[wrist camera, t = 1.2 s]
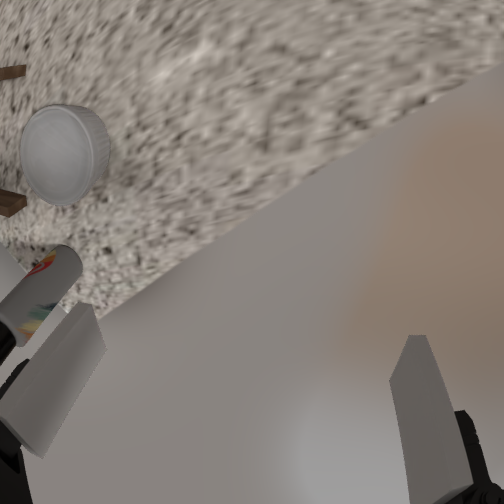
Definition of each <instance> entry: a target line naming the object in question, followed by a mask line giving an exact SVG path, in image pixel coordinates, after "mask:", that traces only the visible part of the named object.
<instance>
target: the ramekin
mask: <svg viewBox="0 0 504 504" xmlns="http://www.w3.org/2000/svg"><path fill="white" fill-rule="evenodd" d="M109 157H110V140H109V135H108V133H107V129H106V127H105V125H104V123H103V122H102V120H101V119H100V118H99V116H97V115H96V114H95V113H94V112H92V111H91V110H89V109H87V108H84V107H81V106H67V105H62V104H55V105H50V106H47V107H44V108H42V109H40V110H39V111H37V112H36V113H35V114H34V115H33V116H32V117H31V118H30V120H29V121H28V123H27V124H26V126H25V129H24V131H23V134H22V138H21V144H20V158H21V165H22V169H23V172H24V175H25V177H26V180H27V182H28V184H29V185H30V187H31V188H32V189H33V191H34V192H35V193H36V194H37V195H38V196H39V197H40V198H41V199H43V200H44V201H46V202H48V203H49V204H52V205H55V206H67V205H71V204H73V203H75V202H77V201H78V200H80V199H81V198H83V197H84V196H85V195H86V194H87V193H88V191H89V190H90V188H91V187H92V185H93V184H94V183H95V182H96V181H97V180H98V179H99V178H100V177H101V176H102V174H103V173H104V171H105V169H106V167H107V164H108V161H109Z"/></svg>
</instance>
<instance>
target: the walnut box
mask: <svg viewBox="0 0 504 504" xmlns="http://www.w3.org/2000/svg"><path fill="white" fill-rule="evenodd" d="M25 72H26V65H18V66H10V67H3V68H0V80H5V79H10V78H15V77H21V76H25ZM25 206H27V201H26V196H25V195H21V194H17V193H13V192H9V191H5V190H2V189H0V215H3V216H6V217H9V218H10V217H11V216H12V215H14V214H15V213H17V212H18V211H19V210H21V209H22V208H24V207H25Z"/></svg>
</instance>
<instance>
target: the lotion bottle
mask: <svg viewBox="0 0 504 504" xmlns="http://www.w3.org/2000/svg"><path fill="white" fill-rule="evenodd" d="M82 270H83V267H82V262H81V260H80V258H79V256H78V255H77V254H76V252H75V251H73V250H72V249H71V248H69V247H67V246H63V245H60V246H58V247H56V248H55V249H53V250H52V251H51V252H50V253H49V254H48V255H47V256H46V257H45V258H44V259H43V260H42V261H40V262H39V263H38V264H37V265H36V266H35V267H34V268H33V269H32V270H31V271H30V272H29V273H28V274H27V275H26V276H25V277H24V278H23V279H22V280H21V282H20V283H18V285H17V286H16V287H15V288H14V289H13V290H12V291H11V292H10V293H9V294H8V295H7V296H6V297H5V298H4V299H3V300H2V302H1V303H0V366H1V365H2V363H3V362H4V361H5V359H6V358H7V357H8V355H9V354H10V353H11V351H12V350H13V349H14V347H15V346H17V347H23V346H25V344H26V343H27V342H28V340H29V339H30V338H31V337H32V335H33V334H34V333H35V331H36V330H37V329H38V328H39V326H40V325H41V323H42V322H43V321H44V320H45V318H46V317H47V316H48V315H49V313H50V312H51V311H52V310H53V308H54V307H55V306H56V305H57V303H58V302H59V301H60V300H61V299H62V297H63V296H64V295H65V294H66V293H67V291H68V290H69V289H70V288H71V287H72V285H73V284H74V283H75V282H76V281H77V279H78V278H79V277H80V276H81V274H82Z"/></svg>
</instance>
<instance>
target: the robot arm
mask: <svg viewBox="0 0 504 504" xmlns="http://www.w3.org/2000/svg"><path fill="white" fill-rule="evenodd" d="M106 351H107V348H106V346H105V343H104V340H103V337H102V334H101V332H100V328H99V326H98V322H97V319H96V316H95V313H94V310H93V307H92V304H88V303H82V302H78V303H77V304H76V305H75V306H74V307H73V309H72V310H71V311H70V312H69V313H68V314H67V316H66V317H65V318H64V319H63V320H62V322H61V323H60V324H59V325H58V326H57V327H56V329H55V330H54V331H53V332H52V334H51V335H50V336H49V337H48V338H47V339H46V341H45V342H44V343H43V344H42V346H41V347H40V348H39V349H38V351H37V352H36V353H35V355H34V356H33V357H32V358H31V359H30V360H29V359H26V360H24V361H23V362H21V363H20V364H19V365H17V367H16V368H15V369H14V370H13V372H12V373H11V376H9V377H8V379H7V380H6V383H4V384H3V385H2V386H1V388H0V504H33V502H32V498H31V494H30V490H29V485H28V481H27V476H26V471H25V466H24V459H23V454H22V451H21V449H20V447H21V445H23V446H24V447H25V448H26V449H27V450H28V451H29V452H30V453H32V454H34V455H36V456H38V457H40V458H41V459H43V458H44V456H45V454H46V452H47V450H48V448H49V447H50V445H51V443H52V441H53V439H54V438H55V436H56V434H57V432H58V430H59V429H60V427H61V425H62V423H63V422H64V420H65V418H66V416H67V415H68V413H69V411H70V410H71V408H72V406H73V404H74V403H75V401H76V399H77V398H78V396H79V394H80V393H81V391H82V389H83V387H84V386H85V384H86V383H87V381H88V380H89V378H90V376H91V375H92V373H93V371H94V370H95V368H96V367H97V365H98V363H99V362H100V360H101V359H102V357H103V355H104V354H105V352H106ZM389 382H390V386H391V391H392V395H393V400H394V405H395V410H396V415H397V420H398V426H399V431H400V437H401V442H402V448H403V454H404V460H405V468H406V475H407V481H408V490H409V499H410V504H504V490H502V489H501V487H499V486H498V485H497V484H495V483H492V482H491V480H490V477H489V475H488V471H487V467H486V463H485V459H484V456H483V452H482V449H481V446H480V444H479V439H478V436H477V435H476V429H475V427H474V423H473V421H472V419H471V418H470V416H469V415H468V414H467V413H466V412H465V410H462V411H455V412H454V410H453V407H452V404H451V401H450V398H449V395H448V392H447V389H446V387H445V384H444V381H443V378H442V376H441V373H440V370H439V368H438V365H437V363H436V360H435V357H434V355H433V352H432V350H431V347H430V345H429V342H428V340H427V338H426V335H409V336H408V339H407V341H406V344H405V346H404V349H403V351H402V353H401V356H400V358H399V361H398V362H397V365H396V367H395V369H394V371H393V374H392V376H391V378H390V380H389Z"/></svg>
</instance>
